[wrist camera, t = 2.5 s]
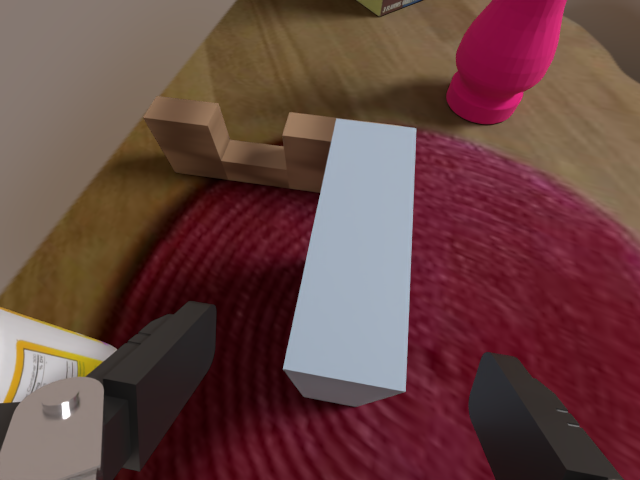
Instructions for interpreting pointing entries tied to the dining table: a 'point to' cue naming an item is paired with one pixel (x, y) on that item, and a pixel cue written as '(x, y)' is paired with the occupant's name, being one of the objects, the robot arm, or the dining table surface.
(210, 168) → the wooden notched block
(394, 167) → the pale blue notched block
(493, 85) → the pepper mill
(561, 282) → the dining table surface
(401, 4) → the protein box
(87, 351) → the supplement bottle
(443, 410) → the dining table surface
